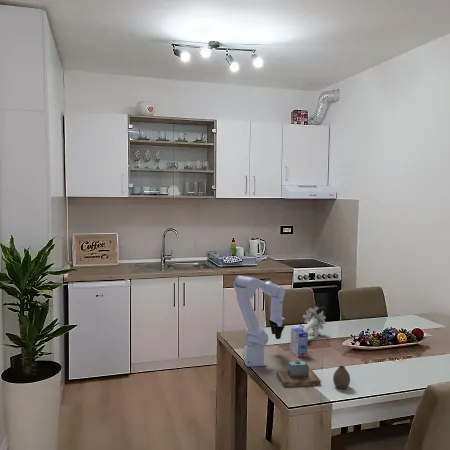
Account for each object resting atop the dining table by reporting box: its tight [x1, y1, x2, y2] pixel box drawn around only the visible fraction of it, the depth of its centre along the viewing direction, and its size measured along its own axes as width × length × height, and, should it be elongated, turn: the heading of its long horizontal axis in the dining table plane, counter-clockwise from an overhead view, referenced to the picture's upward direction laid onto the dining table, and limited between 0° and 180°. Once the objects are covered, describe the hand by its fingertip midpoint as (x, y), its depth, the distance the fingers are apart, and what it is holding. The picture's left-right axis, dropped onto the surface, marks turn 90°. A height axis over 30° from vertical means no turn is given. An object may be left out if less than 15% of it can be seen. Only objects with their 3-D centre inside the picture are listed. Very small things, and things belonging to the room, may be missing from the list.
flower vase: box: [293, 305, 327, 338], centre depth 250 cm, size 13×18×25 cm
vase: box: [332, 365, 351, 390], centre depth 187 cm, size 7×7×9 cm
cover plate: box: [288, 360, 307, 367], centre depth 193 cm, size 4×7×2 cm, turn 97°
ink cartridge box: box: [289, 324, 309, 358], centre depth 225 cm, size 10×6×14 cm, turn 16°
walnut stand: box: [276, 368, 322, 388], centre depth 193 cm, size 16×12×2 cm
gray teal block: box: [286, 361, 310, 378], centre depth 193 cm, size 5×8×5 cm, turn 98°
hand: (276, 336), depth 223 cm, fingers open, 7 cm apart
